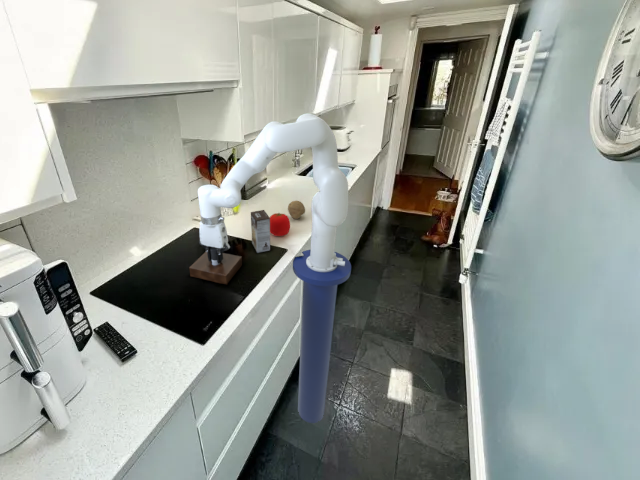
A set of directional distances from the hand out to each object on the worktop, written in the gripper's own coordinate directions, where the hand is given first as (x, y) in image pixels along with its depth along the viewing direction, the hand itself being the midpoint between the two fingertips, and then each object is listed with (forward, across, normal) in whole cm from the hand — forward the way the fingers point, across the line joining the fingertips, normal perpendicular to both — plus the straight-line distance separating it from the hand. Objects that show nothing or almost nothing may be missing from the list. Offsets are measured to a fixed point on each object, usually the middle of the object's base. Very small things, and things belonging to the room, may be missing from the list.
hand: (215, 260), depth 121 cm
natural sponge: (+5, -17, -57) cm, 60 cm away
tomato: (+5, -14, -37) cm, 40 cm away
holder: (+5, 0, 0) cm, 5 cm away
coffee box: (+5, -10, -23) cm, 26 cm away
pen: (+4, 0, 0) cm, 4 cm away
